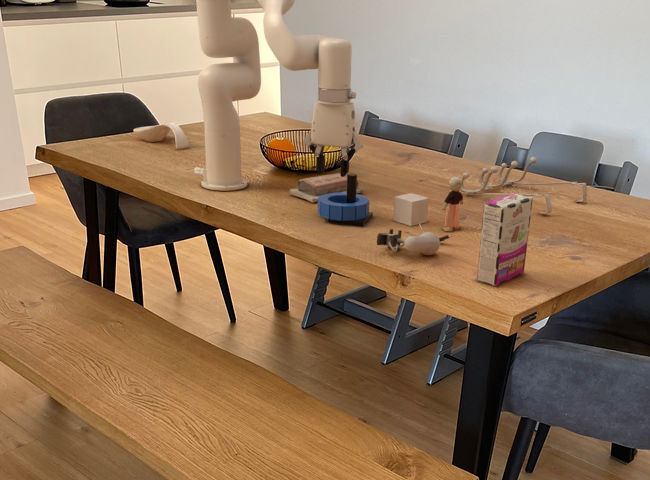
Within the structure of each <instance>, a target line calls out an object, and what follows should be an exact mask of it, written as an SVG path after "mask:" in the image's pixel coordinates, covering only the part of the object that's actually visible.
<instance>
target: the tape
mask: <svg viewBox="0 0 650 480" xmlns="http://www.w3.org/2000/svg"><path fill="white" fill-rule="evenodd" d="M346 195H347V193H329V194H324V195H321V196H320V197H319V198H318V201H317V214H318V216H320V217H322V218H325V219H327V220H328V219H331V220H339V221H342V220H343V221H353V220H359V219H364V218H366V217H367V216H368V215H369V212H370V199H369V198H368V197H367V196H365V195H361V194H360V193H359V194H356V202H355V203H347V204H346Z"/></svg>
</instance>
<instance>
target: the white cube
mask: <svg viewBox="0 0 650 480" xmlns="http://www.w3.org/2000/svg"><path fill="white" fill-rule="evenodd" d="M429 200H430V198H429V197H426V196H423V195H419V194H416V193H413V192H409V193H405V194H401V195H400V194H399V195H396V196H394V199H393V201H394V202H393V216H392V217H393V218H392V221H394V222H397V223H400V224H403V225H405V226H409V227H413V226H415V225H416V226H417V225H419V223H420V225H421V224H424V223H428V214H429V213H428V212H429V203H430V202H429Z"/></svg>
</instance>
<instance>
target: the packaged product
mask: <svg viewBox="0 0 650 480" xmlns="http://www.w3.org/2000/svg"><path fill="white" fill-rule="evenodd" d="M347 174H349V172H348V173H347ZM297 181H298V182H297V184H298V186H297V187H295V188H290V189H289V193H290V196H294V197H297V198H300V199H303V200H307V201H308V202H311V203H318V198H319V197H320V196H321V195H324V194H329V193H347V175H345V176H344V177H341V176H340V172H337V173H329V174H325V175H318V176H317V175H316V176H312V177H306V178H305V177H304V178H301V179H299V180H297ZM363 192H364V189H362V188H360V187H359V182H358V180H357V189H356V194H359V195H360V194H363Z"/></svg>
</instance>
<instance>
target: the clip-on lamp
mask: <svg viewBox="0 0 650 480" xmlns="http://www.w3.org/2000/svg"><path fill="white" fill-rule="evenodd" d="M418 225H419V228H420V229H421V232H422V233H421V234H419V235H409V236H407V237H406V238H402V230H401V229H400V230H398V232H397V234H394V229H393V228H390V229H389V232H379V233H377V236H376V245H377V246H385V247H387V249H391V251H393V252H394V253H396V252H397V251H398V250H400V249H401V248H403V247H404V249H405V250H406V251H407V252H409V253H417V252H418V253H421V255H424V256H433V255H435V254H436V253H437V252H438V251H439V249H440V247H441V242H445V240H449V239H450V238H452V237H453V235H449V234H447V235H446V234H445V235H444V236H441V237H439V236H438V235H437V234H436V233H435V232H432V231H424V229H423V227H422V225H421V224H420V223H419V224H418Z"/></svg>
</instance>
